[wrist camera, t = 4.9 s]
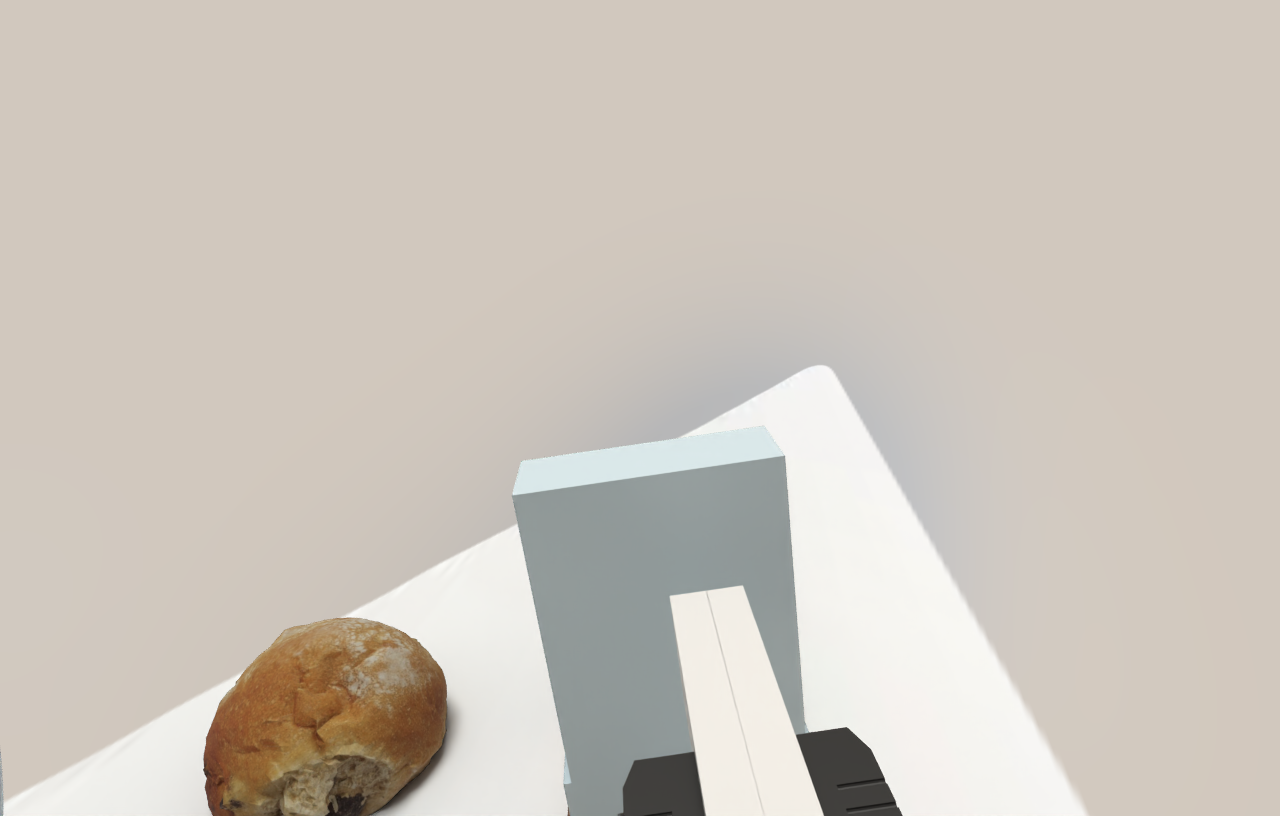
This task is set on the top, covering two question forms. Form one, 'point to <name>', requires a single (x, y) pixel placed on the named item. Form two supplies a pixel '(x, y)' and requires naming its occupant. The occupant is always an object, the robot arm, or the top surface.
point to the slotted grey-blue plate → (649, 587)
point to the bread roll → (326, 723)
